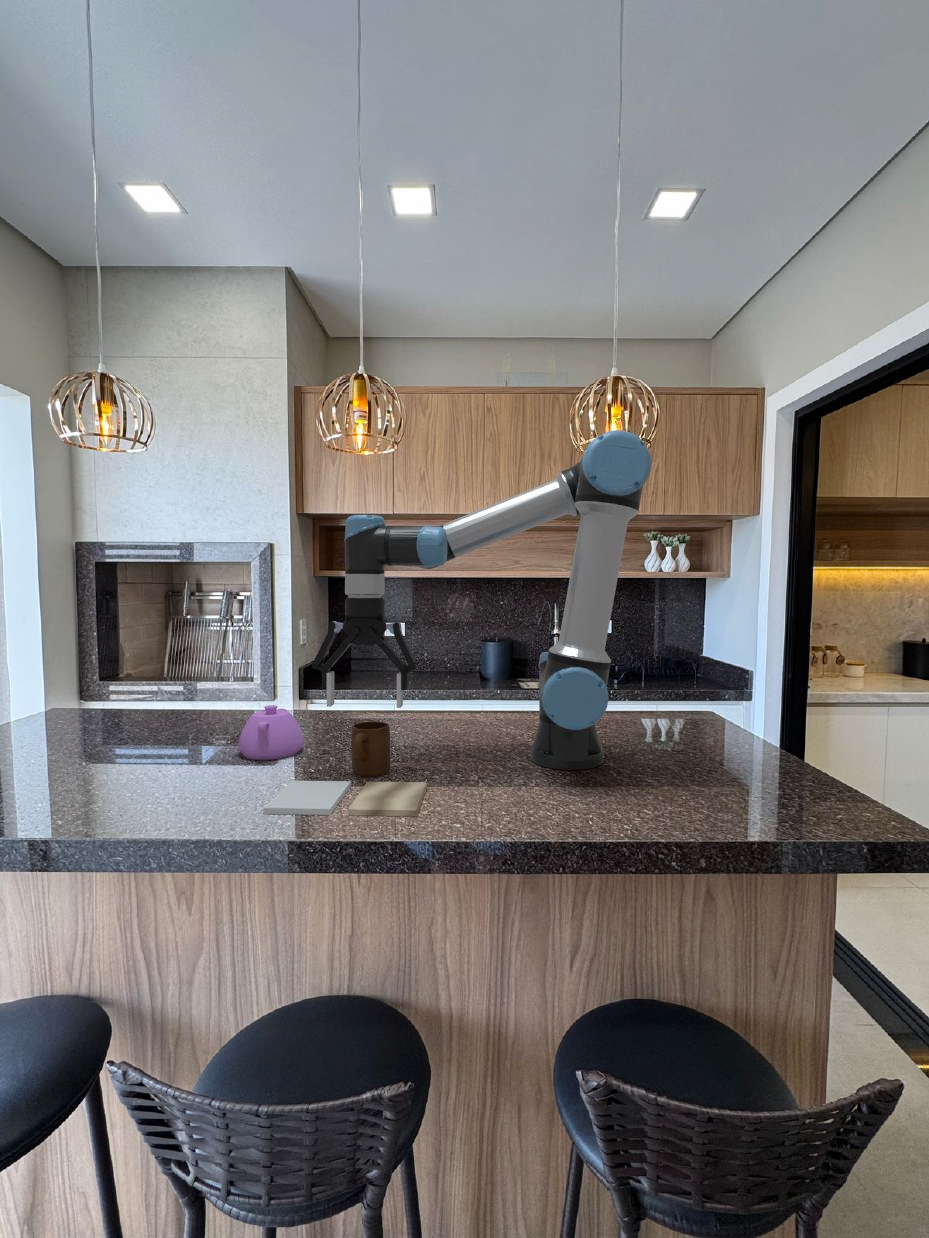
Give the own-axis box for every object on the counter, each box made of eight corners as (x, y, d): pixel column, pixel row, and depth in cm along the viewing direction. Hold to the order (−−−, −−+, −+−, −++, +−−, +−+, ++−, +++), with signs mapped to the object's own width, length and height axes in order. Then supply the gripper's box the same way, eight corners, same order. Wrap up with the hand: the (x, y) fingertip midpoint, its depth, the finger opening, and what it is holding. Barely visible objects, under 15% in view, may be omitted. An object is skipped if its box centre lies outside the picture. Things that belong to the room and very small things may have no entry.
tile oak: (426, 787, 111) (426, 782, 111) (416, 816, 97) (416, 810, 97) (367, 786, 112) (367, 781, 112) (348, 815, 98) (348, 809, 98)
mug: (375, 786, 112) (375, 735, 112) (337, 783, 114) (336, 734, 113) (395, 767, 124) (394, 721, 124) (359, 765, 126) (359, 720, 125)
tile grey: (351, 786, 112) (351, 781, 112) (330, 815, 98) (329, 808, 98) (292, 785, 113) (292, 780, 113) (263, 813, 99) (263, 807, 99)
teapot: (312, 740, 147) (311, 696, 146) (294, 764, 127) (293, 713, 126) (253, 741, 146) (252, 697, 145) (227, 766, 126) (225, 715, 125)
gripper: (431, 596, 120) (431, 703, 121) (307, 595, 122) (308, 701, 123) (427, 597, 113) (426, 711, 114) (294, 596, 114) (295, 708, 115)
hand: (365, 706), depth 118 cm, fingers open, 13 cm apart
